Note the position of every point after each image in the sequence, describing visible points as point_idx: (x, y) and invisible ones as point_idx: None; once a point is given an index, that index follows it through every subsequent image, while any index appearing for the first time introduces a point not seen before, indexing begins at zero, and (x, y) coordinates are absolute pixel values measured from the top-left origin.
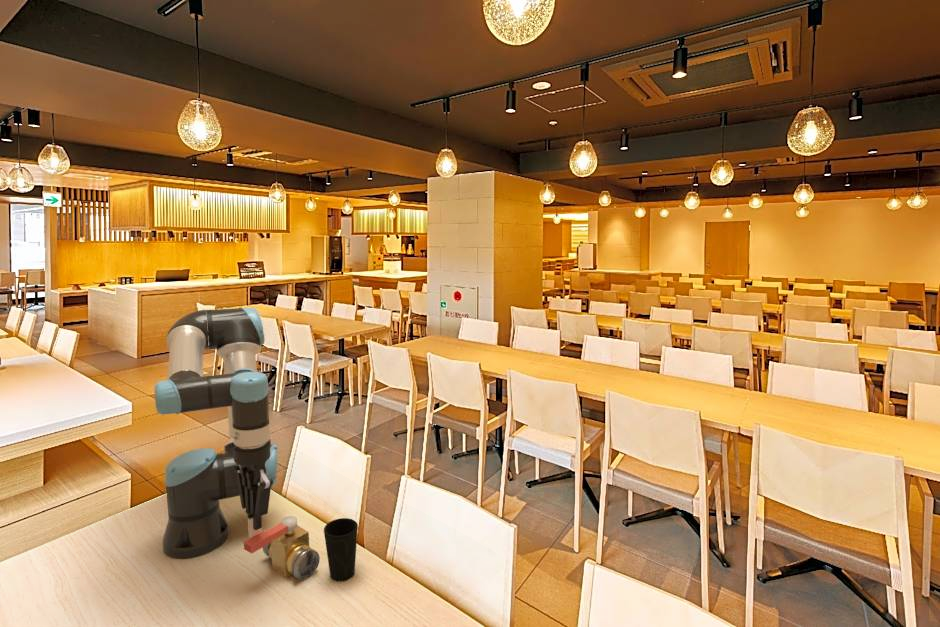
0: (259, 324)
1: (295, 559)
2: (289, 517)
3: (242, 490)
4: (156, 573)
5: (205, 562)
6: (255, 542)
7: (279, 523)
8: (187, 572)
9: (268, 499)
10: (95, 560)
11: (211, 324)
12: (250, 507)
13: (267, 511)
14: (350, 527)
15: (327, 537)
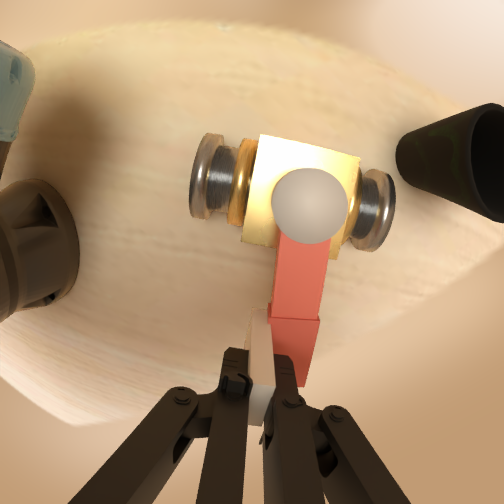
0: None
1: (368, 245)
2: (291, 184)
3: (152, 501)
4: (79, 337)
5: (104, 281)
6: (301, 371)
7: (281, 239)
8: (109, 316)
9: (392, 484)
10: (12, 341)
11: None
12: (264, 466)
13: (353, 420)
14: (485, 115)
15: (488, 218)
